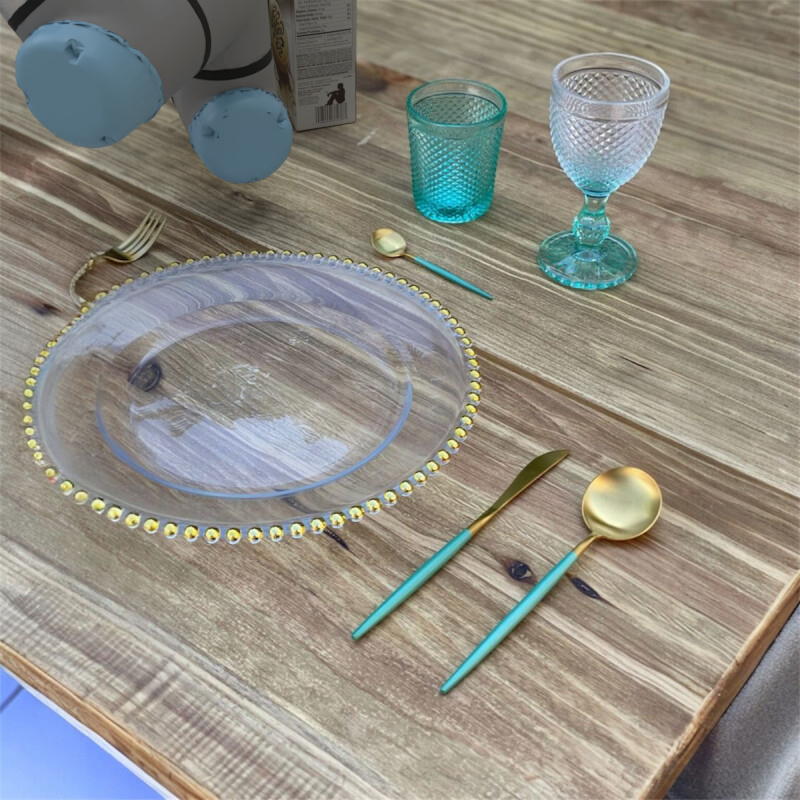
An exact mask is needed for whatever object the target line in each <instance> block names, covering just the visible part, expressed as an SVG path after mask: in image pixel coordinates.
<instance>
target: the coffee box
mask: <svg viewBox="0 0 800 800" xmlns="http://www.w3.org/2000/svg"><path fill="white" fill-rule="evenodd" d="M267 2H268V13H269V25H270V37H271V49H272V53H273V60H274V70H275V81H276V90H277V95H278V98H279V99H280V100H281V101H282V102H283V104H284V105H283V106H284V107H285V108H286V109H287V113H288V117H289V120H290V122H291V124H293V126H294V129H295V131H296V132H297V131H298V132H300V131H307V130H313V129H318V128H319V129H320V128H325V127H331V126H338V125H339V126H340V125H343V124H351V123H355V122H356V121H357V49H358V48H357V45H358V43H357V41H358V40H357V38H358V37H357V34H358V33H357V31H358V30H357V29H358V28H357V27H358V24H357V22H358V21H357V19H358V16H357V15H358V9H357V8H358V0H267Z"/></svg>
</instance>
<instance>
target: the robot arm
mask: <svg viewBox="0 0 800 800" xmlns="http://www.w3.org/2000/svg"><path fill="white" fill-rule="evenodd" d="M0 16H1V17H2V18H3V19H4V21H5V22H6V23H7V25H8V26H9V27H10V28H11V30H12V31H13V32H14V34H15V35H16V36H17V38H19V40H20V41H21V42H22V43H21V45H20V47H18V50H17V53H16V56H15V60H14V71H15V72H14V77H15V81H16V84H17V87H18V88H19V89H20V90H21V91H22V93H23V95H24V97H25V100H26V102H25V103H26V106H27V108H28V110H29V111H30V113H31V115H32V116H33V117H34V118H35V119H36V120H37V121H38V122H39V123H40V124H41V125H42V127H44V128H45V129H46V131H49V132H50V133H51V134H53V135H54V136H56V137H57V138H59V139H60V140H62V141H65V142H66V143H68V144H70V145H73V146H76V147H80V148H86V149H87V148H88V149H102V148H106V147H110V146H113V145H115V144H118V143H119V142H121V141H123V140H124V139H125V138H126V137H127V136H129V135H130V134H131V133H132V132H134V131H135V130H137V129H138V128H139V127H141V126H142V125H143V124H147V123H148V122H150V121H151V120H153V119H154V118H155V117H156V116H157V115H158V113H159V111H160V110H161V108H162V107H163V106H164V105H165V104H166V103H167V102H168V101H169V100H171V102H172V104H173V105H174V106H175V107H174V108H175V109H176V111H177V114H178V116H179V117H180V118H179V119H180V120H181V123H182V125H183V126H184V129H185V131H186V133H187V135H188V137H189V144H190V147H191V149H192V150H194V153H195V154H196V155H197V156H198V158H199V159H200V160H201V162H202V164H203V165H204V166H205V168H206V169H207V170H208V171H209V172H210V173H211V174H212V175H214V176H215V177H217V178H218V179H220V180H222V181H224V182H228V183H232V184H238V185H239V184H240V185H243V184H253V183H256V182H259V181H263V180H265V179H266V178H269V177H271V176H272V175H273V174H274V173H275V172H277V171H278V170H279V169H280V168H281V167H282V166H283V164H284V163H285V162H286V161H287V159H288V157H289V154H290V153H291V150H292V145H293V139H294V132H293V125H292V121H291V119H290V117H289V115H288V113H287V109H286V108H285V107H284V106H283V105H284V104H283V102H282V101H281V100H280V98H279V96H278V94H277V90H276V81H275V70H274V60H273V53H272V49H271V37H270V25H269V13H268V2H267V0H0Z"/></svg>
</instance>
